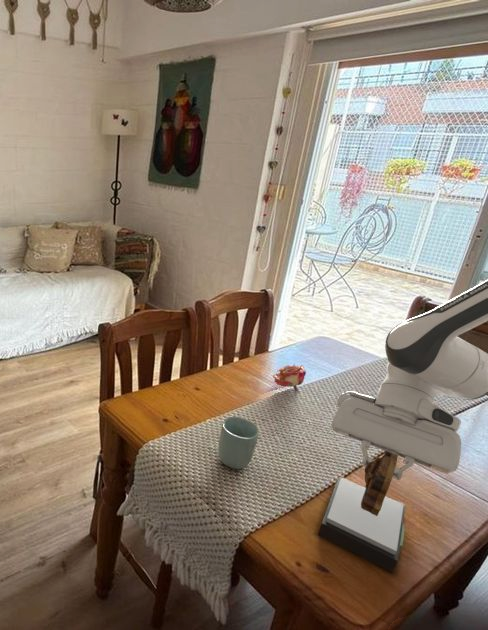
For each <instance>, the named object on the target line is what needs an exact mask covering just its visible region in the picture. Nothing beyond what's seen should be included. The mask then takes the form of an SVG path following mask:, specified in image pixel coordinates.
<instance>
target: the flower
mask: <svg viewBox="0 0 488 630" xmlns="http://www.w3.org/2000/svg"><path fill="white" fill-rule="evenodd" d="M276 371H277V372H279V373H275V374H273V375H272V378H273V379H274V382H273V383H275V384H276V386H281V387H290V388H292V387H293V390H294V391H295V392H298V391H299V389H298V387H297V386H301V385H303V383H304V379H305V377H306V375H307V371H305V366H304V365H300V366H298V365H296V363H294V364H293V365H286V366H283V367H281V368H279V369H276Z"/></svg>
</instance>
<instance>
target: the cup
mask: <svg viewBox="0 0 488 630" xmlns="http://www.w3.org/2000/svg"><path fill="white" fill-rule="evenodd" d="M259 433H260V431H259V428H258V427H257V424H255V423H253V422H252V421H250V420H248V419H245V418H243V417H238V416H237V417H236V416H230V417H227V418H225V419H224V420H223V422H222V424H221V428H220V433H219V439H218V445H217V446H218V447H217V449H218V450H217V451H218V453H217V454H218V457H219V459H220V461H221V462H222V464H223V465H225V466H227V467H229V468H231V469H233V470H241V469H245V468H246V467H247V466H248V465H249V464H250V462H251V461H252V459H253V456H254V453H255V450H256V446H257V442H258V438H259Z"/></svg>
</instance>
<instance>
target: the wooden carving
mask: <svg viewBox="0 0 488 630" xmlns="http://www.w3.org/2000/svg"><path fill="white" fill-rule="evenodd" d="M398 457H399V456H398V455H396V454H394V453H390V452H388V451H385V452H384V454H383V455H382V456H381V457H380V456H377V457H376V458H375V459H373V461H372V462H370V463H368V464H367V465H366V467H365V466H364V482H365V486H364V487H365V488H366V489H365V492H364V495H363V498H362V501H361V508H362V509H364V510H366V511H368V512H370V513H371V514H373V515H375V516H378V513H379V511H380V510H381V507H382V504H383V501H384V498H385V496H386V497H387V493H388V491H389V488H390V486H391V483H392V480H393V478H392V477H393V474H394V471H395V467H396V468H397V463H398Z"/></svg>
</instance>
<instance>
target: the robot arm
mask: <svg viewBox="0 0 488 630" xmlns="http://www.w3.org/2000/svg"><path fill="white" fill-rule="evenodd" d="M486 322H488V279H486V280H484V281H483V282H480V283H479V284H477V285H475V286H474V287H472V288H470V289H468V290H466V291H464V292H461V294H459V295H457V296H455V297H453V298H451V299H450V300H447V301H446V302H444V303H442V304H440V305H439V306H436V307H435V308H433V309H431V310H429V311H427V312H425V313H423V314H419V315H416V316H414V317H412V318H409V319H407V320H404V321H402V322H400V323H399V324H397V325H395V326H394V327H393V328H391V330H390V331H389V332H388V334H387V336H386V337H385V343H384V344H385V345H384V348H385V349H384V351H385V355H386V358H387V360H388V362H387V365H386V374H385V378H384V380H383V381H382V382H381V384H380V386H379V389H378V391H377V393H376V396H375V397H372V396H369V395H365V394H361V393H358V392H357V391H354V390H350V391H344V392H342V393H340V395H339V397H338V399H337V404H336V405H337V407H338V409H337V410H336V412H335V414H334V416H333V418H332V420H331V424H330V425H331V426H330V427H331V428H332V430H333V432H335V433H338V434H341V435H343V436H345V437H348V438H351V439H353V440H356V441H358V442H361V443H360V446H359V448H360V451H361V455H362V460H361V466H363V467H364V468H365V467H366V465H367V464H368V463H370V462H373V461H374V458H373V457H371V456H369V454H368V450H369V448H370V446H372V447H375V448H376V449H380V450H381V451H382V450H383V451H385V452H387V451H388V452H390V453H394V454H396V455H398V457H400V458H403V461H402V463H403V464H404V465H403V466H401V467H400V468H398V467H397V466H396V467H395V471H394V474H393V477H392V479H395V480H397V481H400V480H401V479H402V476H403V473H404V472H405V471H407V470H409V469H410V468H411V467H413V466H414V464H415V463H416V464H419V465H422V466H425V467H427V468H430V469H433V470H435V471H437V472H441V473H443V474H447V475H448V474H451V473H454V472H455V471H457V470H458V468H459V465H460V461H461V454H462V453H461V452H462V438H461V436H460V435H459V433H458V431H459V429H460V428H461V424H462V421H461V420H460V418H459V417H457V416H456V415H453V414H452V413H450V412H449V411H447V410H445V409H443V408H441V407H440V406H438V405H436V404H435V400H436V397H438V396H444V397H447V398H450V399H451V398H452V399H455V400H456V399H457V400H463V401H471V400H478V399H480V398H483V397H485V396H487V395H488V353H487V352H486V351H484V350H482V349H480V348H479V347H477V346H475V345H474V344H472V343H470V342H468V341H466V340H464V339H463V338H461V337H459V336H460V335H462V334H464V333H466V332H469V331H470V330H472V329H475V328H476V327H478V326H480V325H483V324H484V323H486Z"/></svg>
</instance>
